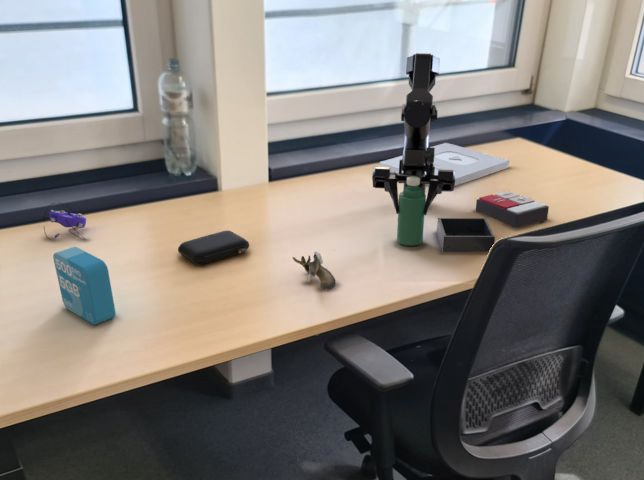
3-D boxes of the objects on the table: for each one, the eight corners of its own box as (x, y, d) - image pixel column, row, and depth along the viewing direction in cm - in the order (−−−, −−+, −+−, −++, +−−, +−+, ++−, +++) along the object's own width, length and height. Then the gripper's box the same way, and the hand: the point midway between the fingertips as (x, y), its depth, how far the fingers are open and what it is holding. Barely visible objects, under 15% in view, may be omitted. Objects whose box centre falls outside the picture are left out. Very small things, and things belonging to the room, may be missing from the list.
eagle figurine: (285, 275, 159) (308, 283, 152) (297, 243, 158) (321, 249, 151) (312, 286, 164) (336, 294, 157) (324, 255, 163) (348, 262, 156)
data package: (63, 307, 149) (51, 250, 142) (83, 299, 151) (72, 244, 145) (96, 327, 142) (85, 269, 135) (117, 319, 145) (107, 262, 138)
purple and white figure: (91, 208, 184) (89, 214, 175) (86, 240, 186) (84, 248, 177) (48, 198, 180) (44, 204, 171) (43, 232, 183) (39, 239, 174)
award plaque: (379, 169, 222) (379, 162, 221) (445, 149, 239) (446, 142, 238) (442, 190, 207) (443, 182, 206) (508, 167, 224) (509, 160, 223)
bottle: (403, 233, 179) (406, 172, 170) (426, 238, 176) (431, 176, 168) (392, 242, 174) (395, 180, 166) (416, 247, 172) (420, 184, 164)
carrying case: (199, 270, 163) (256, 253, 171) (198, 257, 161) (255, 241, 169) (175, 254, 170) (230, 238, 178) (173, 242, 168) (229, 226, 176)
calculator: (507, 189, 197) (550, 203, 186) (506, 205, 200) (547, 220, 189) (475, 196, 192) (517, 211, 181) (474, 212, 195) (515, 228, 184)
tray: (436, 233, 181) (437, 217, 179) (484, 233, 182) (486, 217, 179) (442, 253, 172) (443, 236, 169) (493, 253, 172) (495, 236, 170)
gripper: (374, 131, 166) (368, 196, 163) (459, 134, 164) (454, 200, 161) (375, 155, 177) (370, 217, 174) (455, 158, 175) (451, 221, 172)
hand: (411, 213), depth 170 cm, fingers closed on bottle, 6 cm apart
